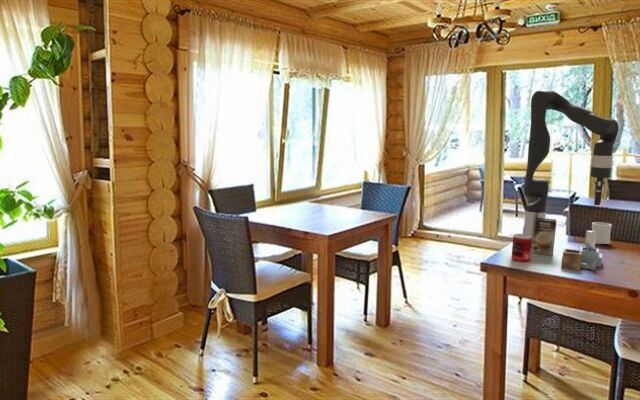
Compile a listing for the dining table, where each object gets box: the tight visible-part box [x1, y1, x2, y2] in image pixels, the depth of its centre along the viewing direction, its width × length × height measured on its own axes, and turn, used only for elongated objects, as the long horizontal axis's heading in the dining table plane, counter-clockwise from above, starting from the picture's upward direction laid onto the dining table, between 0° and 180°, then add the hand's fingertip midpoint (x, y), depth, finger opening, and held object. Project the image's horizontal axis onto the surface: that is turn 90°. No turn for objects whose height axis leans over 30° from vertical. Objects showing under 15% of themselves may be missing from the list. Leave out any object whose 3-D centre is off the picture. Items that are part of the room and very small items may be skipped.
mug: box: [591, 221, 613, 245], centre depth 252 cm, size 12×9×10 cm
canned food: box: [511, 233, 532, 263], centre depth 217 cm, size 8×8×11 cm
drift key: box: [580, 260, 597, 271], centre depth 207 cm, size 10×4×3 cm, turn 60°
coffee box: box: [531, 217, 557, 256], centre depth 229 cm, size 9×6×16 cm
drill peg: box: [584, 230, 596, 251], centre depth 213 cm, size 4×4×10 cm
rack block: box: [579, 246, 603, 268], centre depth 214 cm, size 10×8×6 cm
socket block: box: [560, 247, 582, 272], centre depth 209 cm, size 7×10×7 cm
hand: (597, 203), depth 212 cm, fingers open, 8 cm apart
